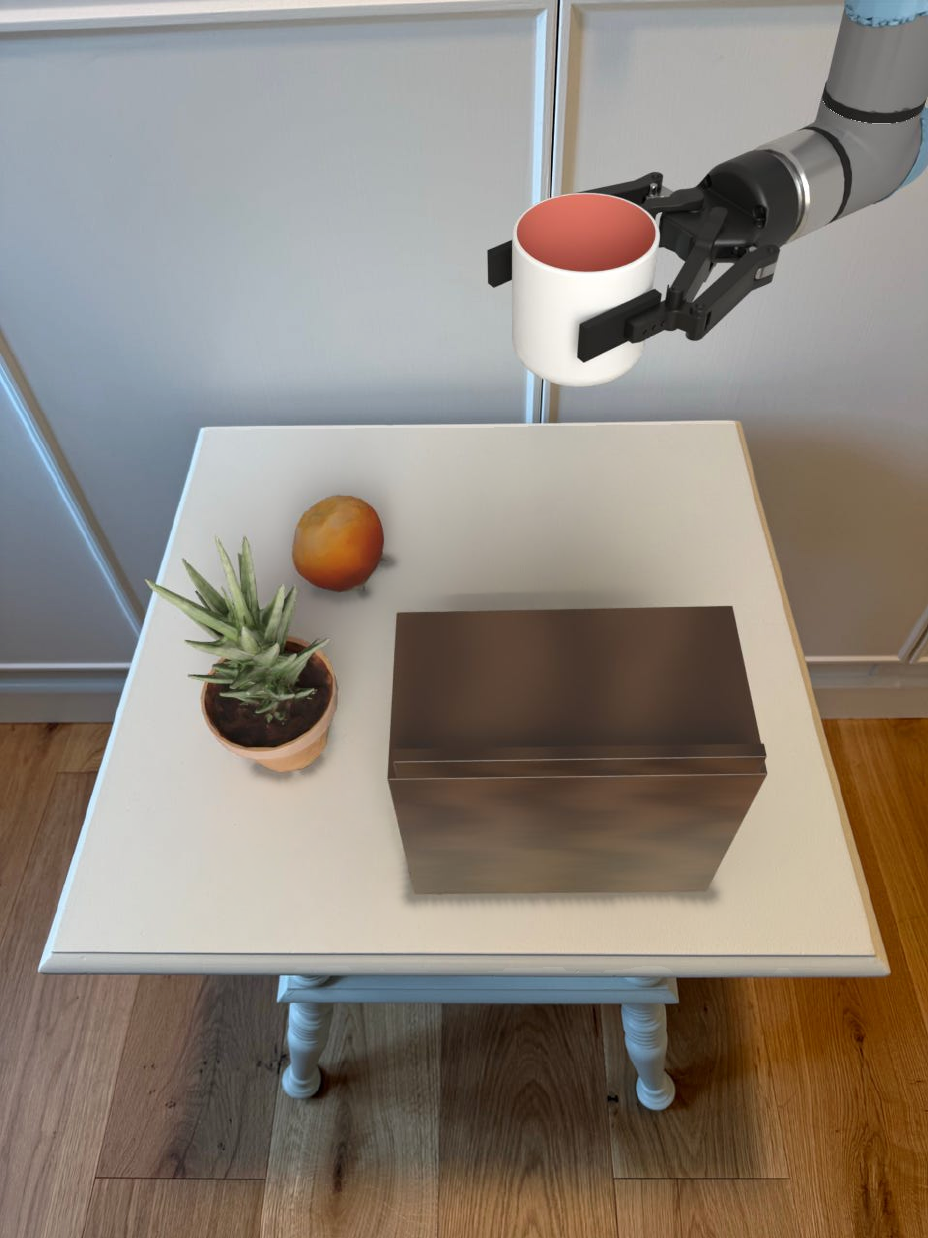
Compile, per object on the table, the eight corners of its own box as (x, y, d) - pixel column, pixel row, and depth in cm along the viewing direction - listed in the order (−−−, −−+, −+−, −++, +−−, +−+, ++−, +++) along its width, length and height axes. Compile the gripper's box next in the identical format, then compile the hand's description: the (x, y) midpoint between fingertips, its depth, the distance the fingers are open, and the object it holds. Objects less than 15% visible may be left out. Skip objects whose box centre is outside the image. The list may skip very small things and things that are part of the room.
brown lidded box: (684, 747, 69) (739, 584, 53) (706, 891, 63) (777, 756, 47) (419, 751, 70) (393, 591, 54) (414, 894, 63) (382, 762, 47)
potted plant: (226, 805, 68) (109, 606, 48) (225, 696, 73) (120, 476, 53) (361, 784, 68) (302, 578, 48) (350, 677, 74) (293, 453, 54)
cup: (670, 359, 70) (691, 238, 62) (565, 413, 67) (573, 293, 59) (587, 296, 75) (596, 176, 67) (486, 343, 72) (483, 223, 64)
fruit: (385, 609, 76) (327, 543, 71) (319, 616, 81) (261, 555, 76) (421, 538, 80) (369, 471, 76) (357, 549, 85) (303, 487, 80)
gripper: (863, 312, 69) (632, 434, 62) (662, 184, 80) (448, 276, 73) (898, 218, 63) (646, 342, 56) (674, 94, 74) (443, 185, 67)
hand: (534, 304), depth 65 cm, fingers closed on cup, 10 cm apart
